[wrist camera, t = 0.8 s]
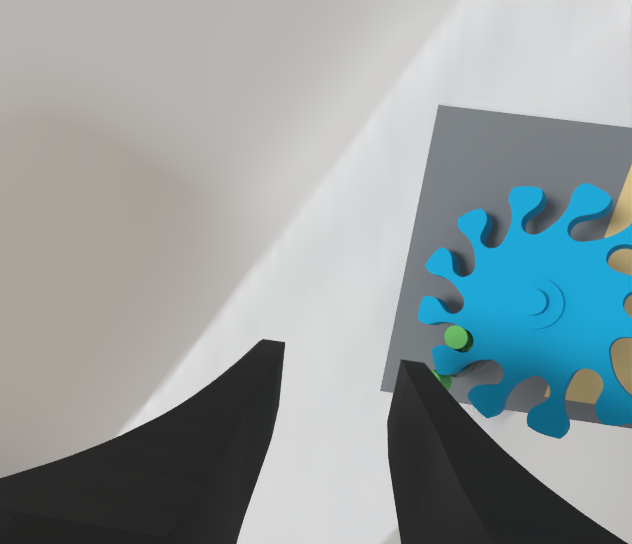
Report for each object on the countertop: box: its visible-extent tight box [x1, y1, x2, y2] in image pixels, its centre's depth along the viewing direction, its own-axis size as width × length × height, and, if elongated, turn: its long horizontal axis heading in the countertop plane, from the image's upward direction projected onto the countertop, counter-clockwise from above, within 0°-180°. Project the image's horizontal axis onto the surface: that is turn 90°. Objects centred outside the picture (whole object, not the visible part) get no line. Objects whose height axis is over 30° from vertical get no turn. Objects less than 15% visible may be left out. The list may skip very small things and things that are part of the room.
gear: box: [418, 183, 632, 439], centre depth 18 cm, size 11×6×10 cm
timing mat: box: [381, 105, 632, 428], centre depth 20 cm, size 18×15×1 cm
